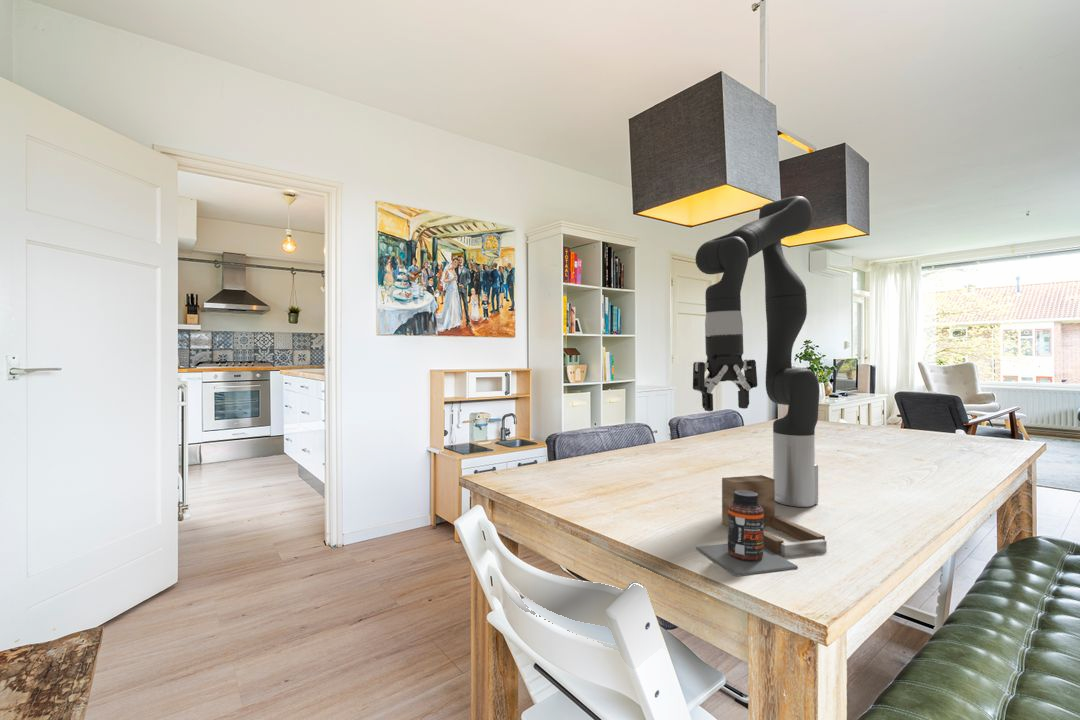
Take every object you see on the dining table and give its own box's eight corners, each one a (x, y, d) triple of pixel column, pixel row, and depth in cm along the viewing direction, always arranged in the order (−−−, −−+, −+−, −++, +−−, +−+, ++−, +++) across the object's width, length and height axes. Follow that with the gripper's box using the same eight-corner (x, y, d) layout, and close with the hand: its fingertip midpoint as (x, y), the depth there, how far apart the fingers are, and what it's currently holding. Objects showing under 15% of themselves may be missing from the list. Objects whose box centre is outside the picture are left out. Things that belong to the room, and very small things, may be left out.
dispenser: (763, 520, 109) (763, 475, 109) (830, 551, 91) (830, 497, 91) (720, 524, 106) (720, 478, 106) (781, 557, 88) (780, 501, 88)
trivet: (751, 542, 95) (751, 540, 95) (797, 568, 84) (797, 566, 84) (696, 548, 92) (696, 546, 92) (736, 575, 81) (736, 573, 81)
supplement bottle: (746, 564, 84) (745, 498, 84) (720, 552, 90) (720, 490, 90) (771, 559, 87) (771, 494, 87) (745, 547, 92) (744, 486, 92)
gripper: (740, 333, 110) (742, 405, 110) (684, 335, 106) (686, 409, 106) (764, 331, 103) (766, 409, 103) (705, 333, 99) (707, 413, 99)
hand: (726, 409), depth 105 cm, fingers open, 8 cm apart
